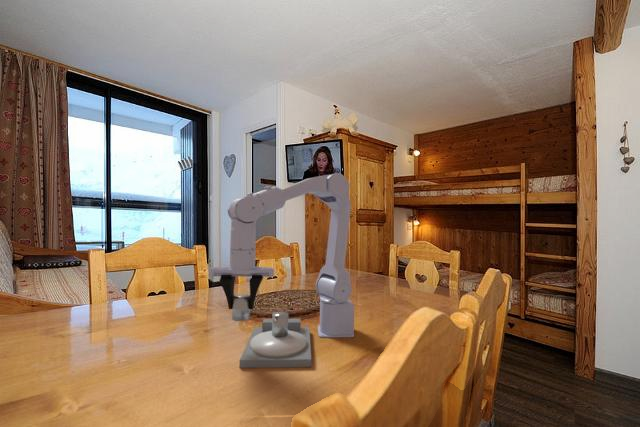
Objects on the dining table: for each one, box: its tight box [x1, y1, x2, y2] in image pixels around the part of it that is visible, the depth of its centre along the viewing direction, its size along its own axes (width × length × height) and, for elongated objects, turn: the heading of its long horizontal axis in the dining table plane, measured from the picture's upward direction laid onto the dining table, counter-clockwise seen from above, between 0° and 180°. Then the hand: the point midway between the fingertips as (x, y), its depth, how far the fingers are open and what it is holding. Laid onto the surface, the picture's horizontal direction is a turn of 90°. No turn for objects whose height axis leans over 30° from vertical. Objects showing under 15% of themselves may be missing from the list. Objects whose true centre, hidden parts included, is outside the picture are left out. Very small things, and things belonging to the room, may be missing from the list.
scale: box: [238, 318, 312, 369], centre depth 71 cm, size 15×19×4 cm
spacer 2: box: [271, 311, 289, 337], centre depth 72 cm, size 4×4×5 cm
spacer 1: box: [231, 293, 251, 322], centre depth 67 cm, size 4×4×5 cm
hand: (241, 307), depth 67 cm, fingers closed on spacer 1, 4 cm apart
